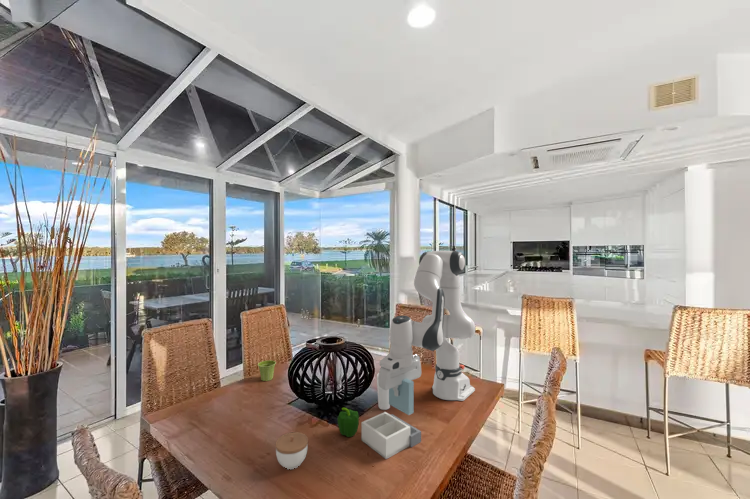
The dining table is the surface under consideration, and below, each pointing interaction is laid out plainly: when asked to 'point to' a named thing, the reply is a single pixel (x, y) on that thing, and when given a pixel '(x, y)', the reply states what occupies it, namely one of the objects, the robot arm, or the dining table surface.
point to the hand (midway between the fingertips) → (400, 394)
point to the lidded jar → (291, 449)
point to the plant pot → (266, 369)
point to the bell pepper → (348, 422)
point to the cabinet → (389, 434)
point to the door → (403, 397)
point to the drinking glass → (382, 396)
